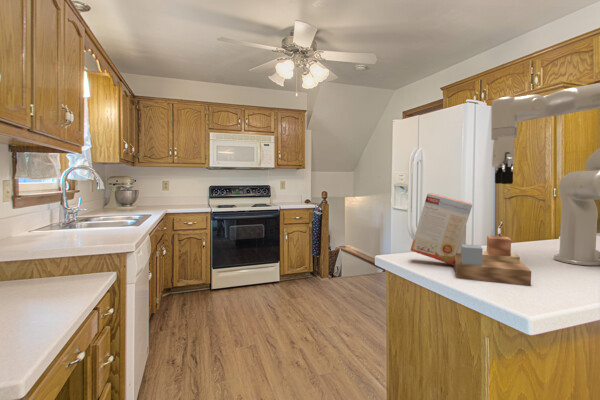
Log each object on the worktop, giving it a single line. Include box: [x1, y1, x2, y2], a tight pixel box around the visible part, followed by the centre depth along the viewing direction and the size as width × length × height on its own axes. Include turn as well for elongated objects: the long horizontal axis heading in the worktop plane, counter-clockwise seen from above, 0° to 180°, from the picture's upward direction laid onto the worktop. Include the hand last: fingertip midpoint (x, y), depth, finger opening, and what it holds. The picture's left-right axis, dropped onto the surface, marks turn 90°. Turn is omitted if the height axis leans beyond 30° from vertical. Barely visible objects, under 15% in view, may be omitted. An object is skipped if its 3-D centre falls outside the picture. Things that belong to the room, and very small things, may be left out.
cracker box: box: [410, 192, 473, 266], centre depth 107 cm, size 14×6×21 cm, turn 63°
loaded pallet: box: [482, 235, 521, 264], centre depth 97 cm, size 10×6×7 cm, turn 66°
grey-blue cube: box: [461, 243, 484, 266], centre depth 93 cm, size 5×5×5 cm
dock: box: [453, 253, 532, 287], centre depth 96 cm, size 18×16×4 cm
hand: (503, 183), depth 111 cm, fingers open, 9 cm apart
